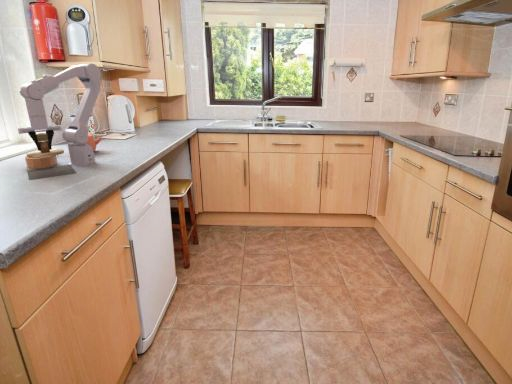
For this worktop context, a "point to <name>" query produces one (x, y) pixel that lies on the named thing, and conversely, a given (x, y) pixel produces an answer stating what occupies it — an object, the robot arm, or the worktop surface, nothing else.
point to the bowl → (41, 162)
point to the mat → (50, 172)
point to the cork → (42, 137)
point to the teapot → (93, 141)
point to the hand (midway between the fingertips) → (44, 149)
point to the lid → (44, 151)
